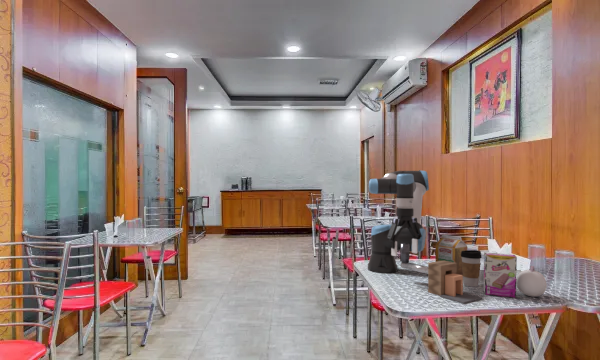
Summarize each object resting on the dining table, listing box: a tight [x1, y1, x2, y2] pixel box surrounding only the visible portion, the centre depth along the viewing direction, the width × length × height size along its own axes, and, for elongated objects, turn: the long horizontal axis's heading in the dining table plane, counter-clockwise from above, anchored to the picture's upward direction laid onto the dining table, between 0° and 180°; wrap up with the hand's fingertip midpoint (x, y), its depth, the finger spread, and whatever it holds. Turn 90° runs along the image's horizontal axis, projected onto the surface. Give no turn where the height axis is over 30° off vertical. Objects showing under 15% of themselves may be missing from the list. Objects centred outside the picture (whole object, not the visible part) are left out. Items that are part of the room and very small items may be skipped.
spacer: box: [445, 273, 464, 297], centre depth 144 cm, size 4×6×8 cm
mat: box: [439, 291, 483, 305], centre depth 142 cm, size 10×12×1 cm
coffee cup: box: [461, 249, 483, 288], centre depth 161 cm, size 8×8×15 cm
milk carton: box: [434, 234, 468, 275], centre depth 181 cm, size 11×11×19 cm
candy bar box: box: [483, 251, 518, 299], centre depth 146 cm, size 11×5×16 cm, turn 71°
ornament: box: [516, 265, 548, 298], centre depth 145 cm, size 10×10×12 cm
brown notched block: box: [427, 260, 457, 297], centre depth 149 cm, size 6×10×12 cm, turn 122°
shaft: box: [399, 243, 428, 275], centre depth 159 cm, size 21×4×11 cm, turn 32°
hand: (404, 254), depth 166 cm, fingers open, 13 cm apart
